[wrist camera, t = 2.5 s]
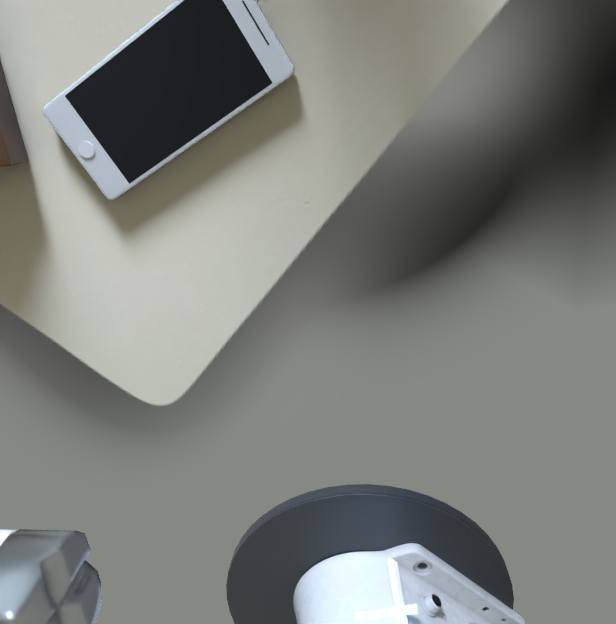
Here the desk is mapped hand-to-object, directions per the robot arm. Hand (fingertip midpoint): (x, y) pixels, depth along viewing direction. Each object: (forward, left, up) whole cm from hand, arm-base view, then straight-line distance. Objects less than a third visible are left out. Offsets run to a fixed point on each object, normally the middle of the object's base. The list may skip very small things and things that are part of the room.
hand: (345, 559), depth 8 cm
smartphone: (+13, +1, -32) cm, 34 cm away
